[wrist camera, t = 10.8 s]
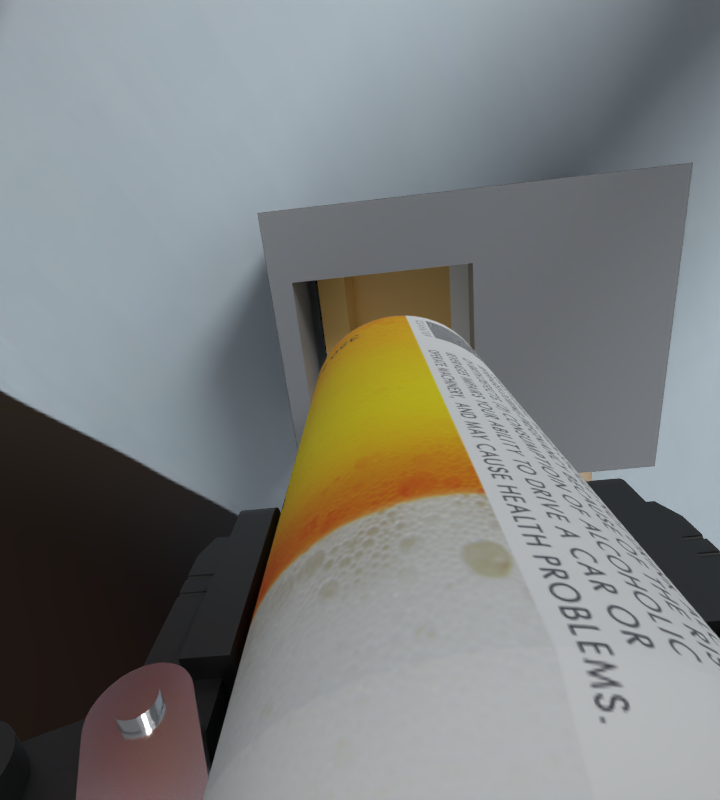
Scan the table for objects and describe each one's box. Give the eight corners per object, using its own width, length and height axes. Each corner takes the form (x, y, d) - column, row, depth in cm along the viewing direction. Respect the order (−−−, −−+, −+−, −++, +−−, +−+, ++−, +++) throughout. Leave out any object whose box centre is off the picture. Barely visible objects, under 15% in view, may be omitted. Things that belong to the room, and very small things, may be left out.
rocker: (582, 231, 25) (598, 233, 22) (574, 390, 28) (586, 410, 25) (329, 256, 28) (314, 261, 25) (347, 397, 31) (335, 416, 28)
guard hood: (584, 182, 29) (692, 162, 19) (572, 398, 33) (654, 465, 24) (290, 216, 29) (257, 213, 20) (320, 422, 34) (305, 497, 25)
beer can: (295, 435, 18) (75, 1161, 4) (351, 284, 16) (287, 716, 2) (439, 484, 19) (660, 1238, 5) (510, 347, 17) (1224, 964, 3)
